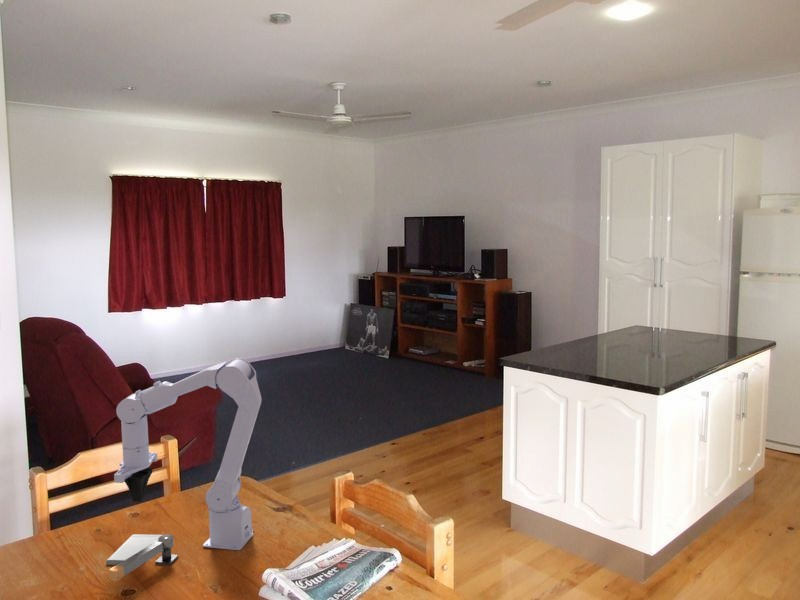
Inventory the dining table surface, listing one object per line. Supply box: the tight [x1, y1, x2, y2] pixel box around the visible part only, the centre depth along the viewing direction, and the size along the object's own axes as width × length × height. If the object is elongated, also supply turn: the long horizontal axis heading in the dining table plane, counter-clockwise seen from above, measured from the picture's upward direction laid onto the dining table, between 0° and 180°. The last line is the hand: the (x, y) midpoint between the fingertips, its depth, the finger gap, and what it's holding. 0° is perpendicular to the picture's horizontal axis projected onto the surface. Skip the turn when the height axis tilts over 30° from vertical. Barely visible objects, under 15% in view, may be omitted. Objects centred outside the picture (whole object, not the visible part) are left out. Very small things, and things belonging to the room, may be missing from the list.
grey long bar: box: [108, 534, 175, 582], centre depth 140 cm, size 17×3×2 cm, turn 157°
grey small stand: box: [154, 548, 179, 566], centre depth 146 cm, size 4×4×3 cm
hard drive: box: [105, 533, 163, 566], centre depth 151 cm, size 2×8×12 cm
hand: (138, 500), depth 154 cm, fingers closed
